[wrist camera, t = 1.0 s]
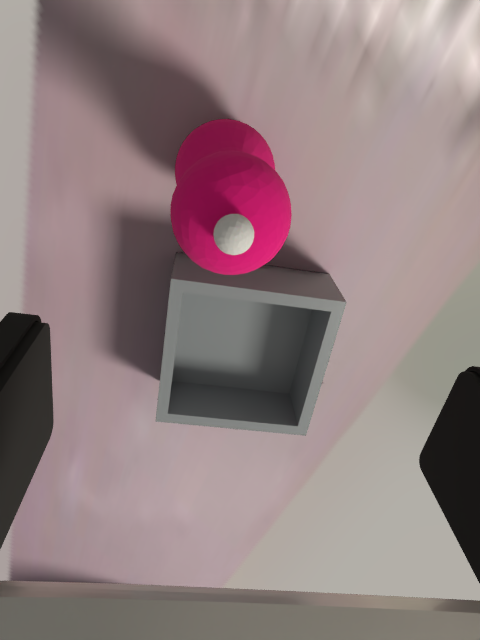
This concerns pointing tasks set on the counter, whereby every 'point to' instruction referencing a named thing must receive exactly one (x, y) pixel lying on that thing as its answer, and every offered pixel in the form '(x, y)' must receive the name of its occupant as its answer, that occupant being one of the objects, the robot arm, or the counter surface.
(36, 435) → the robot arm
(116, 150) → the counter surface
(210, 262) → the pepper mill
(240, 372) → the bin
